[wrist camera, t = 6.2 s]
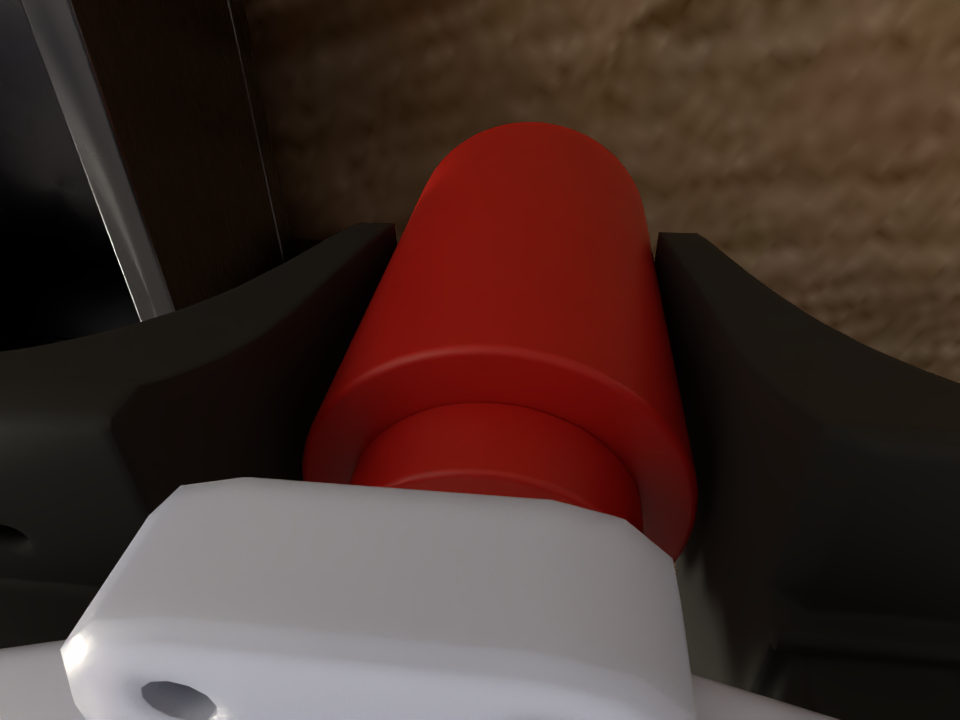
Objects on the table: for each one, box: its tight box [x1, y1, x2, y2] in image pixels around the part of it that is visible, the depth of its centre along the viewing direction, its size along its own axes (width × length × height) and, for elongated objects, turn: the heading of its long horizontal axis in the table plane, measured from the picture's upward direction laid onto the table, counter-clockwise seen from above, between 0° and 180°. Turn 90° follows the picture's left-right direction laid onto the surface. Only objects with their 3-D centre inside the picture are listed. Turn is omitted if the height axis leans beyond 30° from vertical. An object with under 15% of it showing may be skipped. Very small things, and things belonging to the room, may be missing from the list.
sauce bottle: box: [302, 122, 699, 563], centre depth 9 cm, size 4×4×9 cm
